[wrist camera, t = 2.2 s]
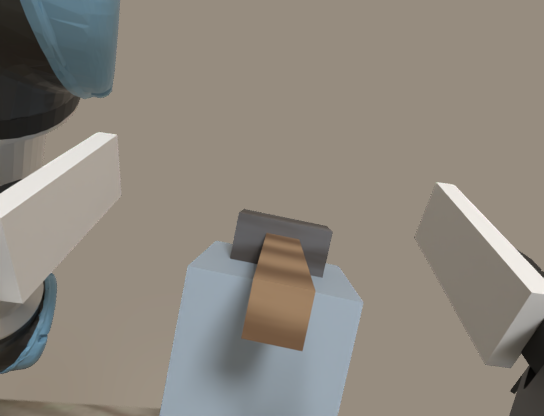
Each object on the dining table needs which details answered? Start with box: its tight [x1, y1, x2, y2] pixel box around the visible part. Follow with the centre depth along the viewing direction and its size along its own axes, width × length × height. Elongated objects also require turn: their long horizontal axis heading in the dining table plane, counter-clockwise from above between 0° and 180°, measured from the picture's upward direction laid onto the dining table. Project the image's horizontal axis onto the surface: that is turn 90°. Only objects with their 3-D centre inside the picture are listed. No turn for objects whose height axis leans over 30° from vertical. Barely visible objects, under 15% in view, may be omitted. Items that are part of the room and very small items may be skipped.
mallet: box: [230, 209, 332, 351], centre depth 31 cm, size 23×10×5 cm, turn 178°
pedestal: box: [159, 241, 363, 416], centre depth 40 cm, size 14×16×30 cm
